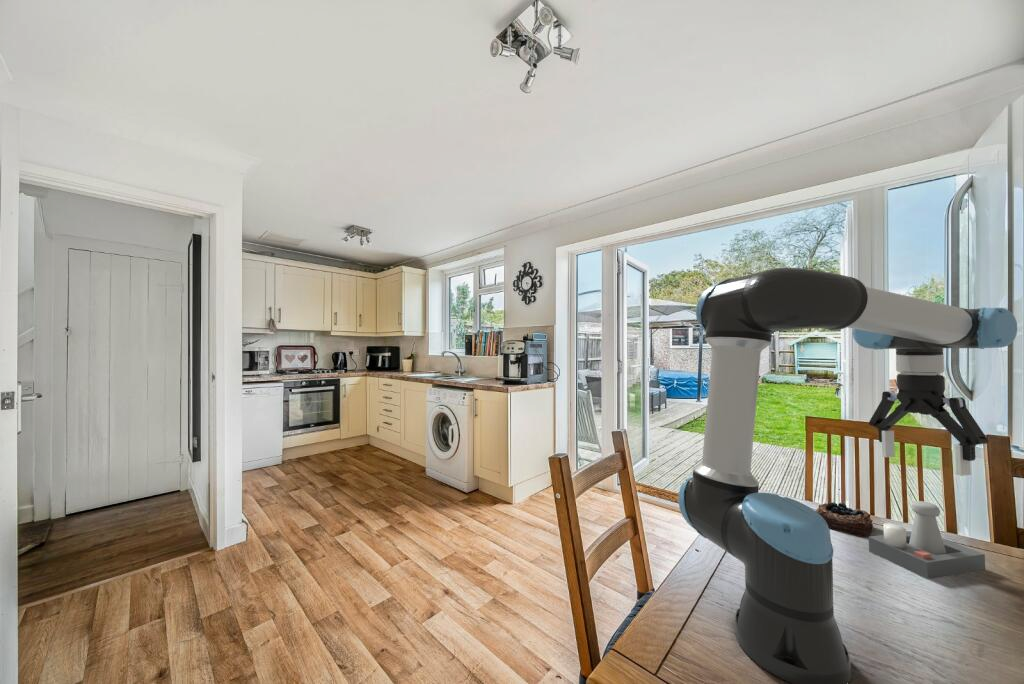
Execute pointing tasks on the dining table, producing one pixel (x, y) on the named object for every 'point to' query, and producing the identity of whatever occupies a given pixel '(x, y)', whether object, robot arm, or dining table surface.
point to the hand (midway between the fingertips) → (923, 465)
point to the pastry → (846, 519)
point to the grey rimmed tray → (924, 555)
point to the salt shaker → (926, 528)
